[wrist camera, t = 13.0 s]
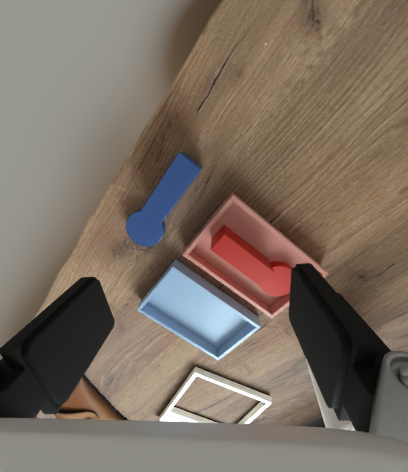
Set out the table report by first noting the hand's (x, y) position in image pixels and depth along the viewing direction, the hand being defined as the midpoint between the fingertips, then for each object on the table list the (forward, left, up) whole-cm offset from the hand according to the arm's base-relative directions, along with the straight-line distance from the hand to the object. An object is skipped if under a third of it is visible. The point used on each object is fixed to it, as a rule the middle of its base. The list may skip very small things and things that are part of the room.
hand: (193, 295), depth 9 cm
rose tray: (+1, +8, -14) cm, 16 cm away
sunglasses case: (+45, +6, -14) cm, 48 cm away
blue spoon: (+2, -5, -14) cm, 15 cm away
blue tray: (+12, +8, -14) cm, 20 cm away
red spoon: (+1, +8, -14) cm, 16 cm away
